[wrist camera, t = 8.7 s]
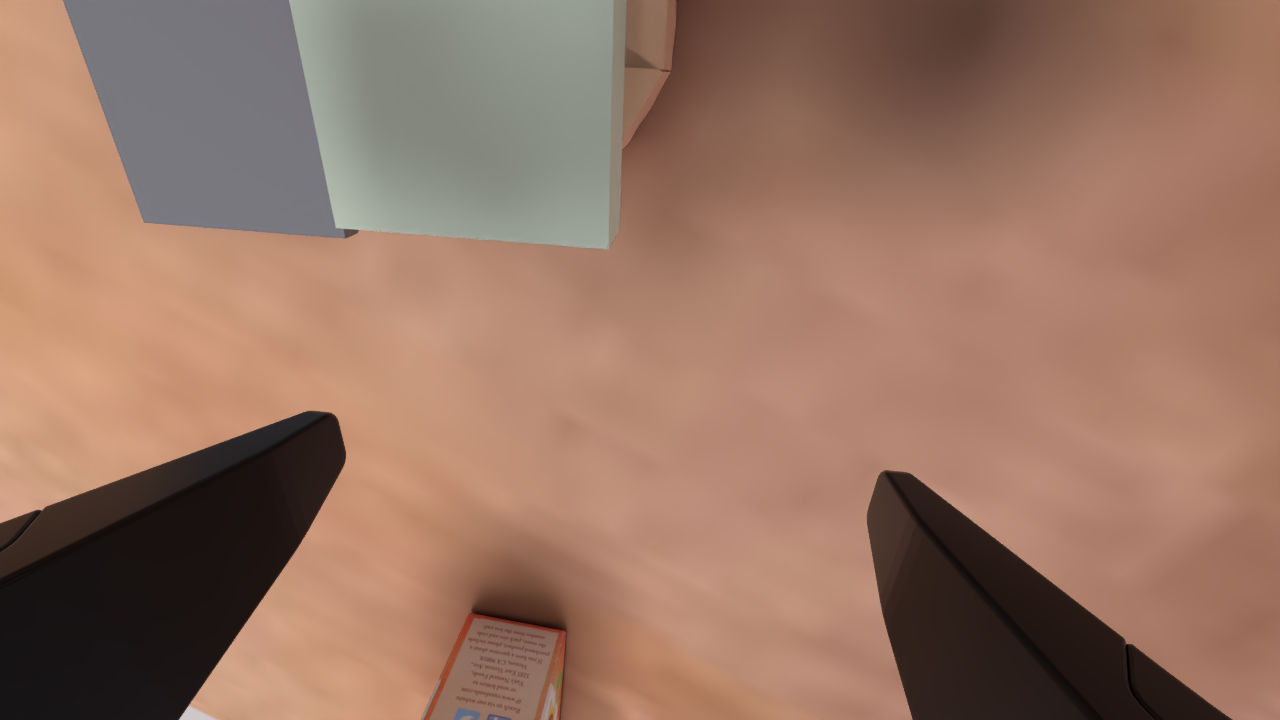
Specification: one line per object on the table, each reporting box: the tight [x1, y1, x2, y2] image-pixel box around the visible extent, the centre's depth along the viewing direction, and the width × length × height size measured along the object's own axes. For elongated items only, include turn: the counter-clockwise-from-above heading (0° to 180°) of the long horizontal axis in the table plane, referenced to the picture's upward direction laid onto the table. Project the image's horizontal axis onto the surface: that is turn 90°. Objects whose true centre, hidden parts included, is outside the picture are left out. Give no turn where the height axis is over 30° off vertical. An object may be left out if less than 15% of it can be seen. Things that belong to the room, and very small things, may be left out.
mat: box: [63, 0, 357, 239], centre depth 19 cm, size 8×12×1 cm
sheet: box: [289, 0, 627, 249], centre depth 13 cm, size 7×10×2 cm
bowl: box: [622, 0, 676, 149], centre depth 15 cm, size 9×9×4 cm
